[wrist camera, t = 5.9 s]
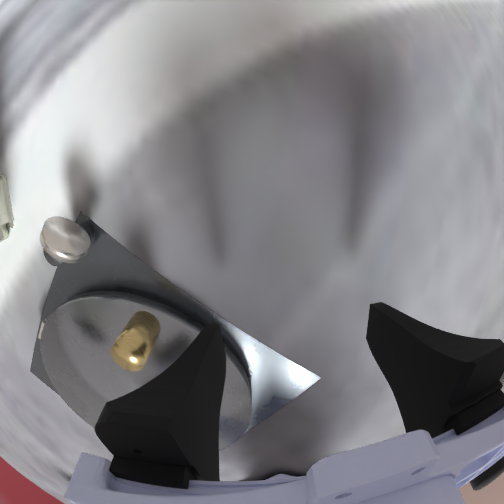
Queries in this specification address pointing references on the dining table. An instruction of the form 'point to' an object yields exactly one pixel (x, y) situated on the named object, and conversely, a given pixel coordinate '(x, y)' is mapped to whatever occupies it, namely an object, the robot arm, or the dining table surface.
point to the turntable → (128, 355)
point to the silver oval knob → (65, 240)
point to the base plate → (161, 290)
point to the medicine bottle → (488, 475)
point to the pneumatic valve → (5, 209)
